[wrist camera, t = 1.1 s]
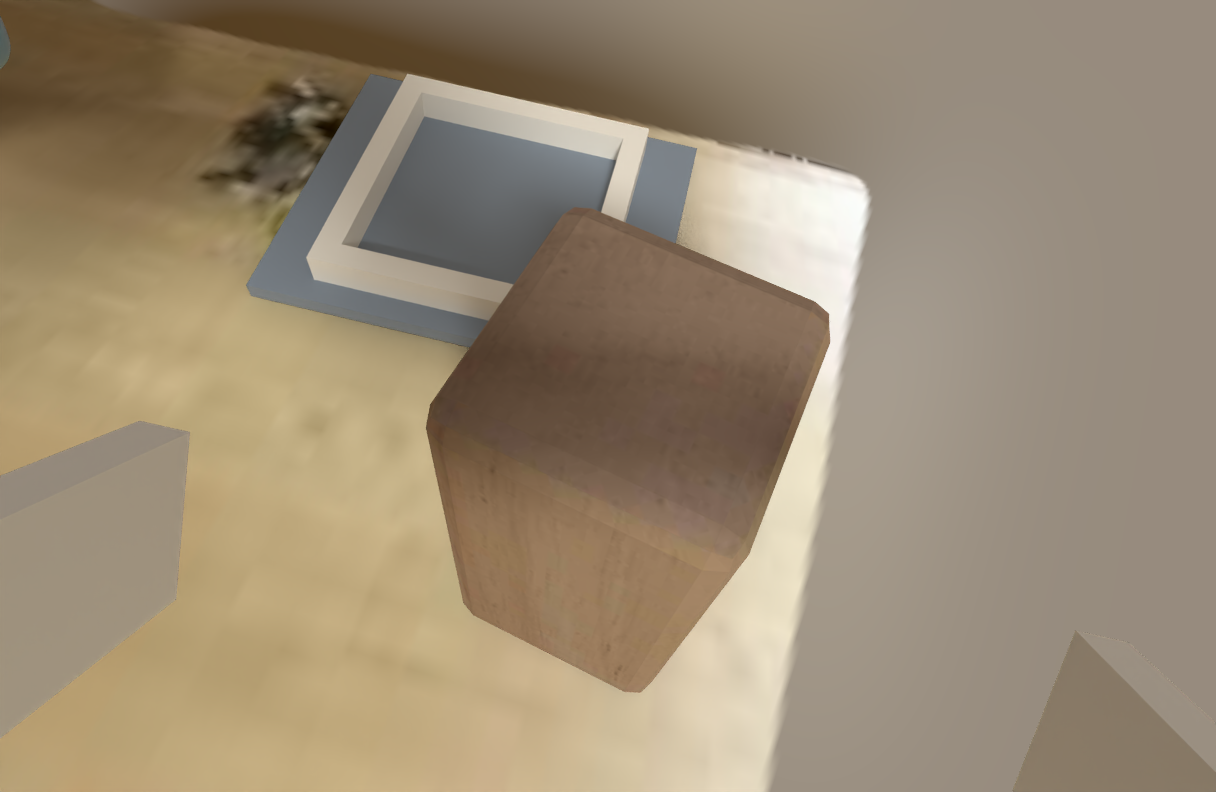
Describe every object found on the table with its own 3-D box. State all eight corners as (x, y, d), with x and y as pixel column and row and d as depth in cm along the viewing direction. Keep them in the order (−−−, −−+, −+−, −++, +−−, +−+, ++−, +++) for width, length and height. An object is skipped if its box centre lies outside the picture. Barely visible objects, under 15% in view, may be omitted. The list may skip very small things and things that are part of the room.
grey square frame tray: (251, 295, 47) (235, 262, 44) (372, 85, 57) (366, 49, 54) (642, 388, 46) (649, 360, 44) (694, 159, 56) (702, 125, 54)
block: (549, 450, 43) (569, 185, 26) (714, 527, 42) (849, 301, 25) (456, 611, 39) (407, 414, 21) (640, 705, 37) (745, 575, 20)
